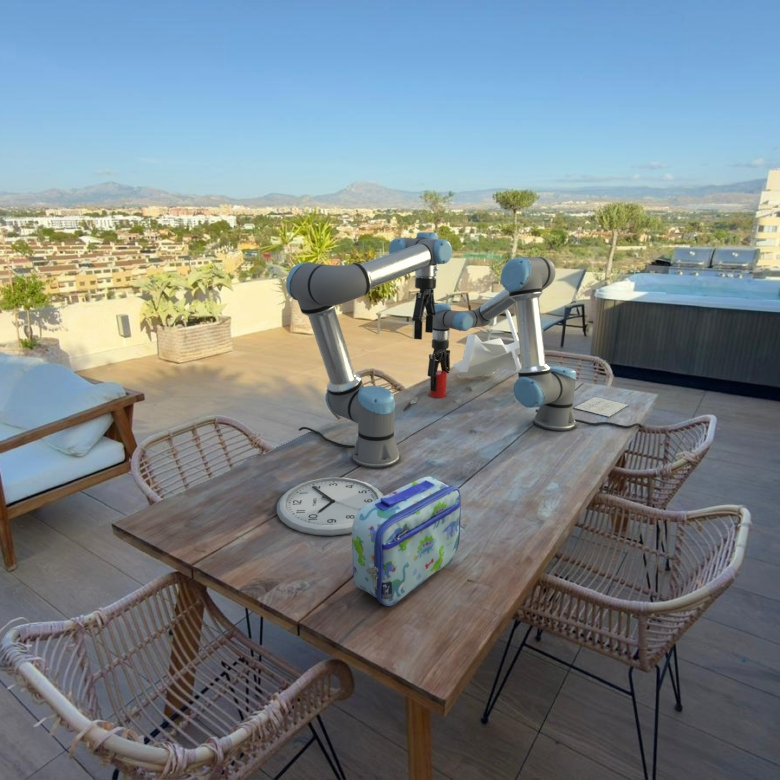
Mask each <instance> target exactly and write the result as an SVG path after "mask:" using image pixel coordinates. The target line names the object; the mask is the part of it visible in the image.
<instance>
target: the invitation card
mask: <svg viewBox="0 0 780 780" xmlns="http://www.w3.org/2000/svg"><path fill="white" fill-rule="evenodd" d="M628 406H629V404H627V403H623V402H618V401H614V400H609V399H605V398H601V397H596V396H593V397H592V398H590V399H588V400H586V401H584V402H582V403H580V404H578V405H575V406H574V407H573V409H575V410H581V411H584V412H587V413H593V414H596V415H600V416H604V417H608V418H609V417H611V416H613V415H614V414H616V413H617V412H619V411H621V410H623V409H624V408H626V407H628Z"/></svg>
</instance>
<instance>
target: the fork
mask: <svg viewBox="0 0 780 780" xmlns="http://www.w3.org/2000/svg"><path fill="white" fill-rule="evenodd" d="M418 398H419V396H415V395H413V396H412V398H411V399H410V402H409V403H408V404H407V405H406V406H405V407H404V409H403V411H406V410H407V409H409V408H410V407H411V405H413V404H416V403H417V402H418Z"/></svg>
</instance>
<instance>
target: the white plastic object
mask: <svg viewBox="0 0 780 780" xmlns="http://www.w3.org/2000/svg"><path fill="white" fill-rule="evenodd" d="M504 313H505V316H506V319H507V322H508V325H509V328H510V332H511V335H512V338H513V342H511V343H508V344H505V343H504V341H503V340H502V338H500V337H499V338H498V337H497V338H495V339H490V340H489V339H488V340H485V341H482V340H481V339H480V337H479V336H478V335H477V334H476V333H475V334H474V333H473V334H472V333H471V334H470V333H469V334H467V338H466V340H465V341H466V342H465V345H464V351H463V355H462V359H461V360H460V361H457V362H455V363H453V364H452V366H453V370H454V374H455V375H456V377H457V378H458V379H466V378H474V377H475V378H476V377H483V376H485V377H490V376H493V375H495V372H497V370H499V369H500V368H502V367H503V366H504V365H506V364H507V363H509V362H510V361H511V360H513V362H514V365H515V368H516V371H517V372H518V371H519V370H520V368H521V367H522V365H521V360H520V359H519V356H520V347H519V338H518V332H517V330H516V327H515V323H514V321H513V318H512V315H511V312H510V311H509V309H508V310H506V311H505V312H504Z"/></svg>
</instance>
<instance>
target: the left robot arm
mask: <svg viewBox="0 0 780 780" xmlns="http://www.w3.org/2000/svg"><path fill="white" fill-rule="evenodd" d="M438 236H439V235H438V234H437V233H436V232H431V231H427V232H426V231H418V232H417V233H416V237H412V238H411V237H399V238H398V237H397V238H396V237H395V238H393V239H392V240H391V241H390V243H389V245H388V254H385V255H383V256H381V257H380V256H379V257H378V258H375V259H372V260H369V261H366V262H363V263H359V262H353V263H350V264H349V263H348V264H343V265H341V264H339V265H335V264H323V263H316V262H313V261H312V262H311V261H307V262H299V263H297V264H295V265H294V266H292V268H291V269H290V270H289V272H288V274H287V276H286V279H285V280H286V281H285V286H286V291H287V293H288V295H289V297H291V298H292V299H293V300H294V301H297V303H298V306H299V309H300V312H301V313H302V314H303V315H305V316H307V317H308V320H309V323H310V327H311V329H312V333H313V336H314V337H315V341H316V343H317V348H318V350H319V353H320V356H321V358H322V362H323V365H324V368H325V371H326V374H327V376H328V379H329V381H328V382H327V383H326V388H327V389H326V393H325V398H324V399H325V403H326V405H327V408H328V409H329V410H330V411H331V412H332V413H334V414H335V415H337V416H339V417H342V418H345V419H346V420H349V421H351V422H354V423H356V424H357V439H356V442H355V445H353V444H352V445H349V444H345V443H339V442H337V441H334V440H331V439H329V438H327V437H326V436H325V435H324V434H323V433H321V432H320V431H318V430H315V429H314V428H311V427H308V426H301V427H299V428H298V431H299V432H300V431H302V430H307V431H309V432H312V433H315V434H316V435H318V436H320V438H322V439H323V440H324V441H326V442H328V443H331V444H333V445H335V446H339V447H343V448H347V449H353V451H352V461H353V462H354V463H355V464H356V465H358V466H361V467H364V468H369V469H383V468H389V467H391V466H394V465H396V464H398V462H399V460H400V452H399V447H398V445H397V442H396V439H395V419H396V418H395V415H396V402H395V395H394V393H393V392H392V391H391V390H390V389H388V388H386V387H383V386H377V385H366V386H364V384H363V381H362V377H361V375H360V374H358V373H356V372H355V370H354V367H353V366H354V365H353V363H352V360H351V356H350V354H349V351H348V347H347V344H346V341H345V337H344V334H343V331H342V328H341V324H340V321H339V317H338V314H337V311H336V306H338V305H343V304H346V303H348V302H351V301H353V300H356V299H359V298H361V297H363V296H366V295H368V294H369V293H370V291H371V290H372V289H374V288H377V287H380V286H381V285H384V284H387V283H389V282H392V281H394V280H397V279H399V278H402V277H404V276H406V275H409V274H411V273H414V276H415V279H414V288H415V289H417V290H419V291H418V292H416V293H415V302H414V307H413V314H412V317H411V321H412V322H414V327H413V339H414V340H421V341H422V339H423V317H424V312H425V311H426V314H425V330H424V332H425V333H428V334H432V333H433V315H436V313H435V304H436V303H435V295H434V293H435V289H436V288H437V278H436V277H437V271H439V268H438V265H445V264H447V263H448V262H449V261H450V260H451V258H452V255H453V247H452V245H451V243H450V242H449V241H448V240H446V239H441V238H439V237H438Z"/></svg>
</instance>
